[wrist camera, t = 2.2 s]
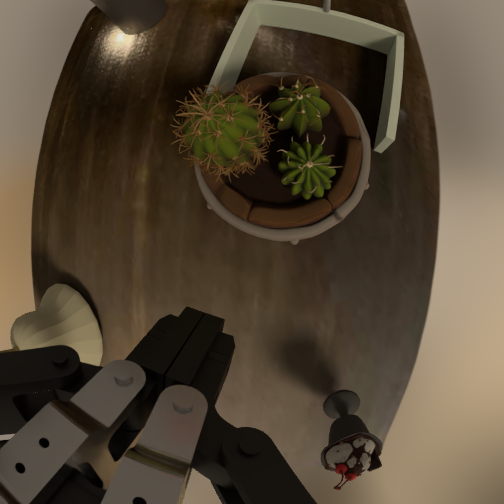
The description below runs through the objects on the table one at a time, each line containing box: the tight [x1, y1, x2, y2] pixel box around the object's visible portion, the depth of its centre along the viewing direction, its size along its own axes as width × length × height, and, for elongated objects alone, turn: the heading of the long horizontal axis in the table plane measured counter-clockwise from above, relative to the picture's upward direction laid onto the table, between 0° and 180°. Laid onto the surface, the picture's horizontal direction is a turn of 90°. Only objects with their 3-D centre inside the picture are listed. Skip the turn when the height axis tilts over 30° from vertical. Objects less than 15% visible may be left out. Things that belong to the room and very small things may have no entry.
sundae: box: [321, 391, 382, 490], centre depth 24 cm, size 7×7×15 cm
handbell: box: [0, 283, 103, 366], centre depth 25 cm, size 15×15×25 cm
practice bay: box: [206, 0, 404, 153], centre depth 18 cm, size 17×20×21 cm
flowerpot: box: [171, 72, 370, 245], centre depth 20 cm, size 14×15×20 cm
